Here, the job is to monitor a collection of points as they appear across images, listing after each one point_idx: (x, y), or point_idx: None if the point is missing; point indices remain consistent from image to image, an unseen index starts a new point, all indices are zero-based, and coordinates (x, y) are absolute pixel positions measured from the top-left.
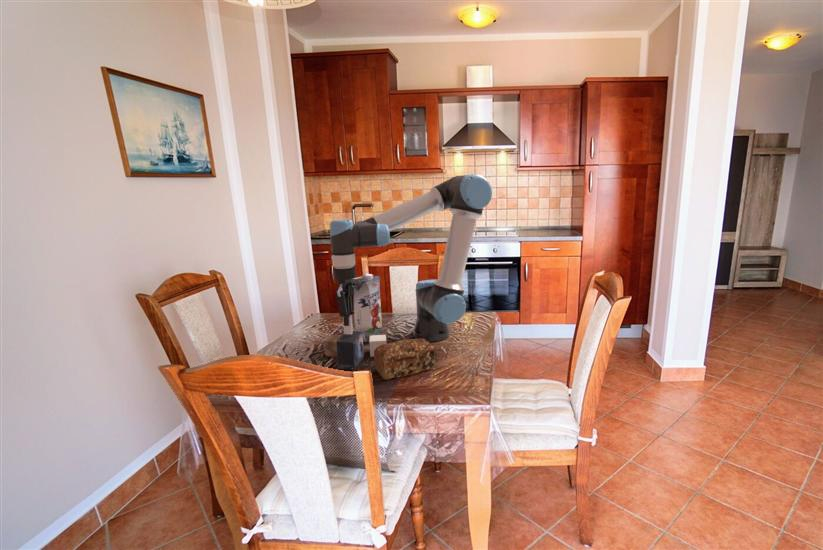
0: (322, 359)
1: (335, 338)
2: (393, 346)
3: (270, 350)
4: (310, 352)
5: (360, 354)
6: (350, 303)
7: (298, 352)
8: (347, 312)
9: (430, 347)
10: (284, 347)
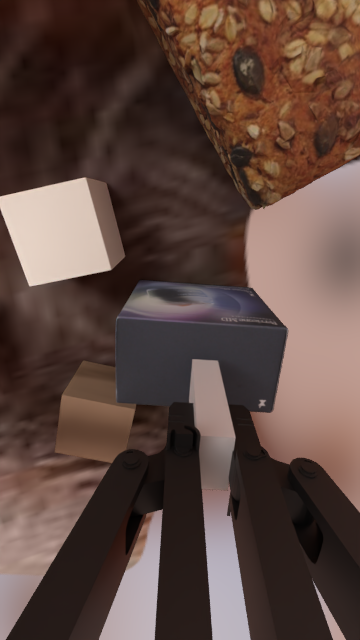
0: (164, 419)
1: (93, 429)
2: (353, 39)
3: None
4: None
5: (188, 288)
6: (204, 546)
7: None
8: (305, 486)
9: None
10: None
